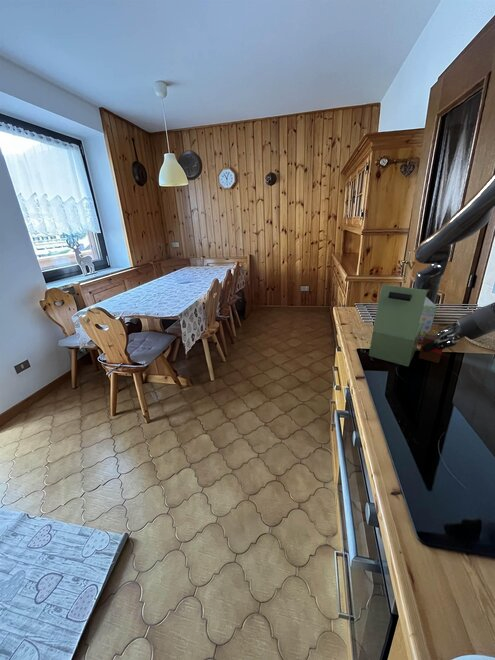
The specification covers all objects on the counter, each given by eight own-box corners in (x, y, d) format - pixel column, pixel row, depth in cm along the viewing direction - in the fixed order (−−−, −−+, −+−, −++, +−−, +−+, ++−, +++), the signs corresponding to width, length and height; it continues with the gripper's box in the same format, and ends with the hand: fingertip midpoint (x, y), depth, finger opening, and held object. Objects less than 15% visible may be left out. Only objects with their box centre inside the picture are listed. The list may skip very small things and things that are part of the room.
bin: (380, 339, 110) (384, 316, 106) (416, 348, 103) (422, 323, 99) (368, 355, 100) (372, 331, 96) (408, 366, 93) (414, 340, 89)
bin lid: (382, 284, 91) (378, 285, 87) (427, 290, 84) (425, 291, 80) (373, 329, 96) (368, 332, 92) (414, 339, 89) (412, 342, 85)
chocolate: (420, 353, 100) (425, 333, 96) (440, 358, 96) (446, 337, 93) (418, 358, 97) (423, 337, 94) (438, 363, 94) (445, 342, 90)
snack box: (428, 344, 105) (438, 306, 98) (411, 343, 106) (420, 306, 100) (410, 320, 124) (418, 287, 117) (396, 320, 125) (403, 287, 118)
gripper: (473, 304, 89) (421, 330, 101) (471, 320, 79) (413, 346, 91) (489, 323, 88) (435, 346, 101) (489, 341, 79) (428, 365, 91)
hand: (425, 346), depth 96 cm, fingers open, 4 cm apart
